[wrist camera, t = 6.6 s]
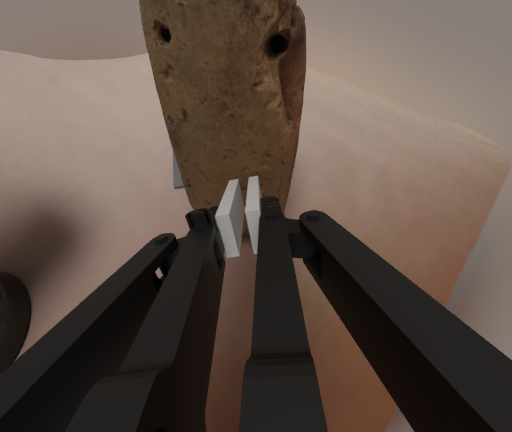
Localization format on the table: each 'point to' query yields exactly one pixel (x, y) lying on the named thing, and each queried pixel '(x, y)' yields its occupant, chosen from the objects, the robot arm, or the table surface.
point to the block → (229, 91)
